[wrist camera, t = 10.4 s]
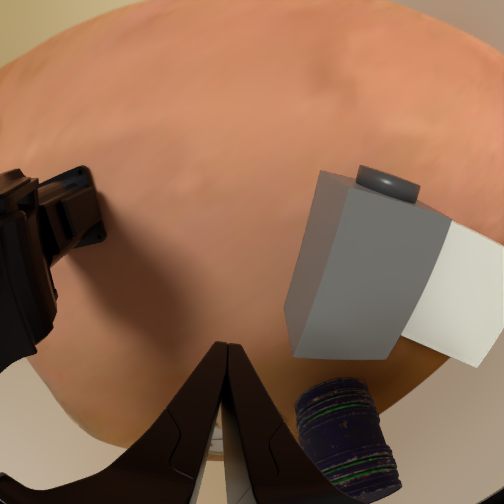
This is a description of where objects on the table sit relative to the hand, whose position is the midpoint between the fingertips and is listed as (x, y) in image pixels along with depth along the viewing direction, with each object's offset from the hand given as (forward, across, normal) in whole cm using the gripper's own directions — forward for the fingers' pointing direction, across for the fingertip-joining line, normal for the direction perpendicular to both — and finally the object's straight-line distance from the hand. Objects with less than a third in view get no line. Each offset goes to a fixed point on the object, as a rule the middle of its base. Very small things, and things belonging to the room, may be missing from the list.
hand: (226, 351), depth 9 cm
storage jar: (+13, -15, +21) cm, 29 cm away
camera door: (+12, -14, +1) cm, 19 cm away
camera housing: (+13, -9, +1) cm, 16 cm away
